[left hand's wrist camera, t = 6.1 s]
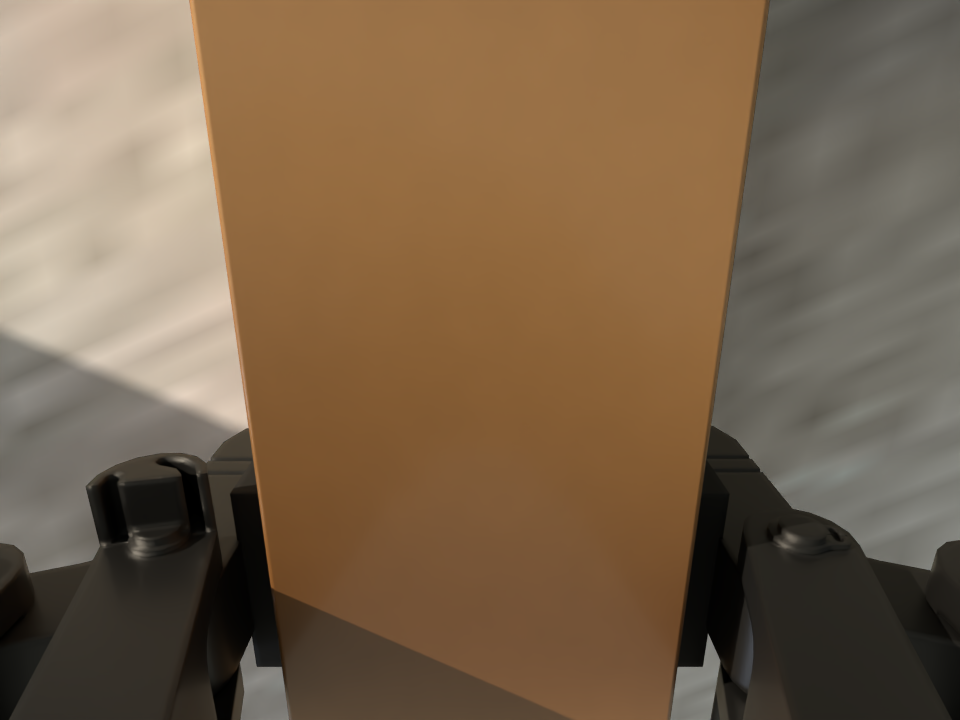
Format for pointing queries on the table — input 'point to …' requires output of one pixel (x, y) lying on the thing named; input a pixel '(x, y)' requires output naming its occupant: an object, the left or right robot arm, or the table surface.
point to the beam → (479, 335)
